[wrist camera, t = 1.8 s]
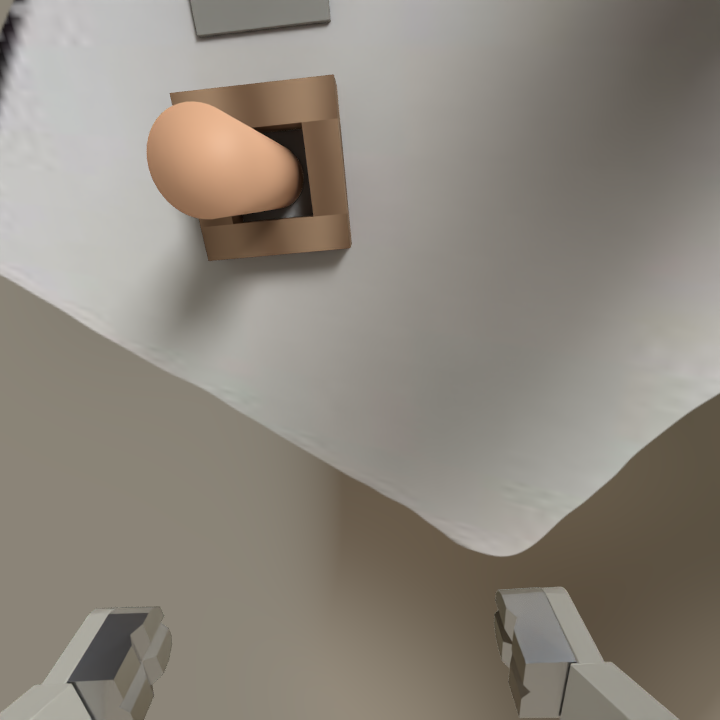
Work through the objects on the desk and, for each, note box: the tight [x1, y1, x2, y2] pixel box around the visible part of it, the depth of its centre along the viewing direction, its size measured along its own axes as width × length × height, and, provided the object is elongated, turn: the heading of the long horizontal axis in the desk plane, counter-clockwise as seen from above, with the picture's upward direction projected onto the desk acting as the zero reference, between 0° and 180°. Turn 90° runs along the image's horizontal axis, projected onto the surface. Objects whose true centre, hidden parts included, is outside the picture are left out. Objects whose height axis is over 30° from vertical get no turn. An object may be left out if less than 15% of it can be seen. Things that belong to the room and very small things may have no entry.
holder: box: [170, 75, 352, 261], centre depth 32 cm, size 12×12×3 cm
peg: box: [147, 101, 304, 219], centre depth 26 cm, size 5×5×16 cm
